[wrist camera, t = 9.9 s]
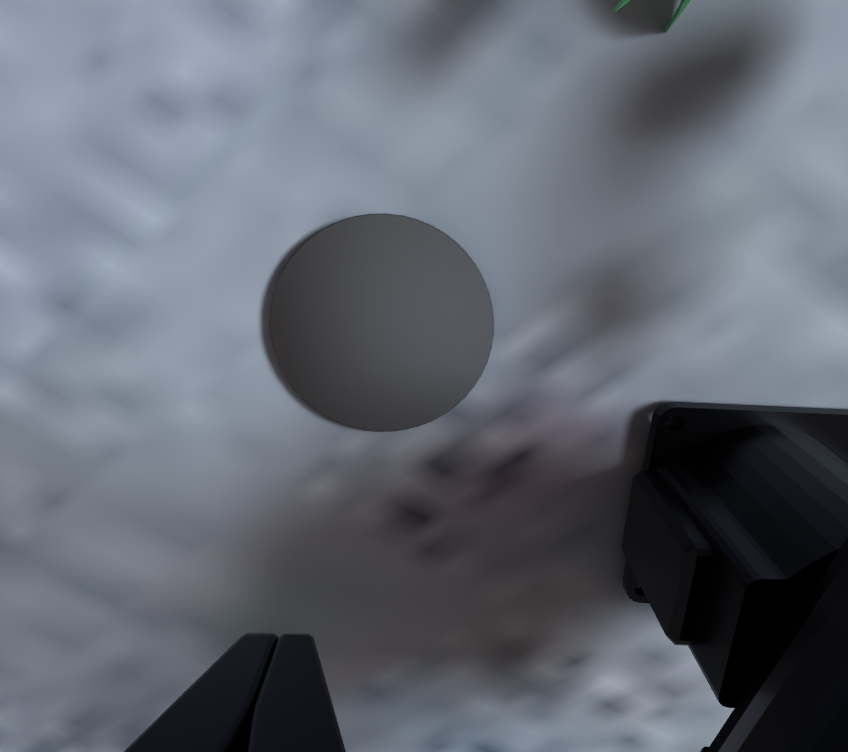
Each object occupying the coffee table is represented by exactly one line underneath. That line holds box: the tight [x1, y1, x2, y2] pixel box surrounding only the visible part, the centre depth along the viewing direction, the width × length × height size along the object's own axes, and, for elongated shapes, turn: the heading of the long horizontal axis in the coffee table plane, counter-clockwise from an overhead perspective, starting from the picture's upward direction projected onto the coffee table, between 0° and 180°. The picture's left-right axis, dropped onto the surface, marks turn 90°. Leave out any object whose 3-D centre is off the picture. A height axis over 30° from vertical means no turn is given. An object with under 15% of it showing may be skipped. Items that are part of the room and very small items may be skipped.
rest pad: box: [270, 214, 494, 432], centre depth 18 cm, size 6×6×1 cm
